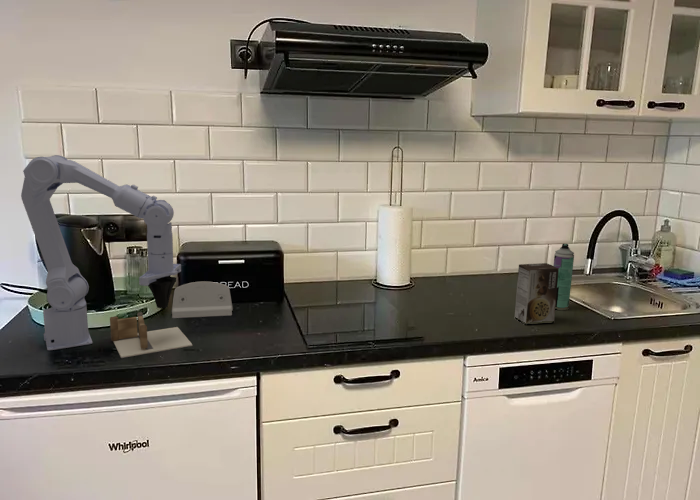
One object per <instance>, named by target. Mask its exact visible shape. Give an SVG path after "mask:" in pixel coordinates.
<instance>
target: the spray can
mask: <svg viewBox="0 0 700 500" xmlns="http://www.w3.org/2000/svg"><path fill="white" fill-rule="evenodd" d="M553 258H554V259H553V266H554V267H556V268H559V272H558V283H557V294H556V306H555V307H558V308H565V307H568V306H569V307H570V298H571V288H572V279H573V269H574V260H575V252H574V251H573V250H571V248H570V247H569V244H568V243H562V244H561V247H559V249H557V250H555V253H554V257H553Z"/></svg>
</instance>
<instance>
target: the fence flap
mask: <svg viewBox="0 0 700 500" xmlns="http://www.w3.org/2000/svg"><path fill="white" fill-rule="evenodd" d="M137 331H138V333H139V337H140V347H141V348H143V349H144V348H147V347H148V340H147V331H148V326H147V324H145V320H144V314H143V312H141V311H139V312H137Z"/></svg>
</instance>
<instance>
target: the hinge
mask: <svg viewBox="0 0 700 500" xmlns="http://www.w3.org/2000/svg"><path fill="white" fill-rule="evenodd" d="M171 306H172V307H171V314H172V315H171V318H172V319H177V318H178V319H181V318H202V317H203V318H204V317H223V316H225V317H226V316H232V315H233V312H232V311H234V310H233V309H234V307H233V303H232V296H231V290H230V287H229V286H228V285H226V284H223V283H220V282H213V281H205V280H204V281H195V282H194V281H193V282H189V283H184V284H181V285H179V286H177V287H175V289H174V291H173V299H172V305H171Z"/></svg>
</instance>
